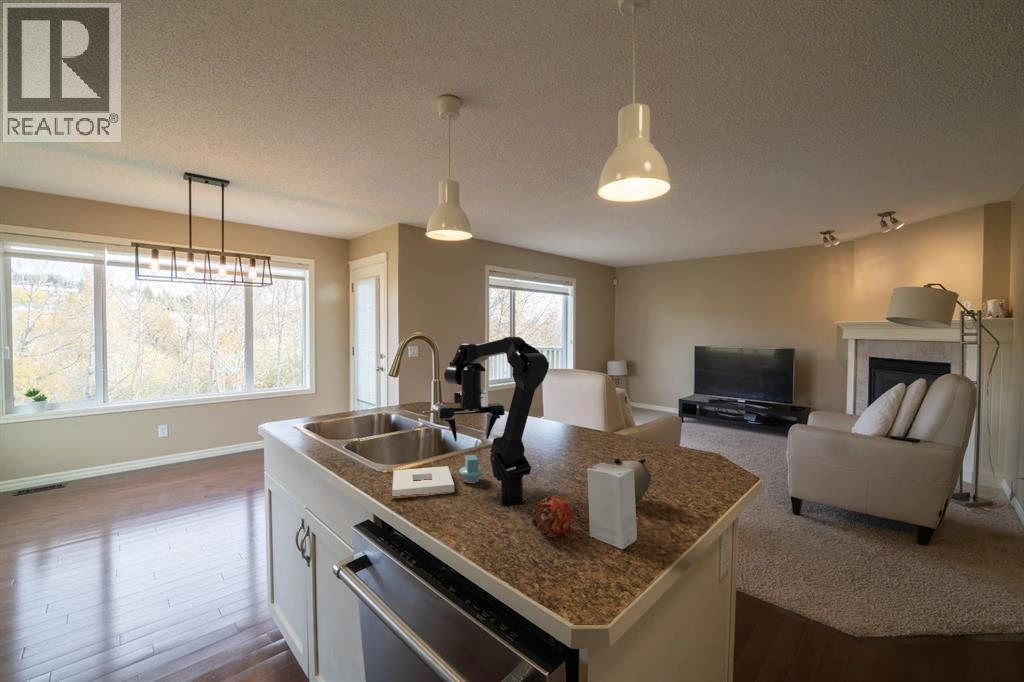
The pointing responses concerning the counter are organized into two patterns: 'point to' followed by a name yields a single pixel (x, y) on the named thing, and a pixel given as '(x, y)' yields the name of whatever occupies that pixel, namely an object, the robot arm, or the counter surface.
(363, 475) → the counter surface
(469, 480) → the cap
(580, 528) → the counter surface
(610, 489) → the skincare box
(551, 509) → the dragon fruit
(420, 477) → the white slab
